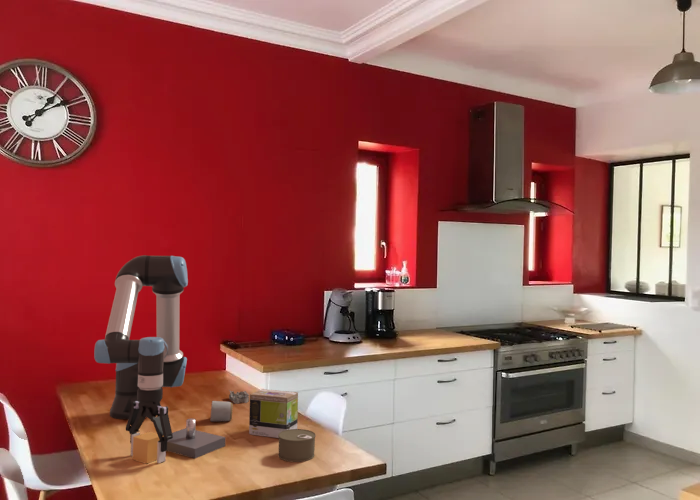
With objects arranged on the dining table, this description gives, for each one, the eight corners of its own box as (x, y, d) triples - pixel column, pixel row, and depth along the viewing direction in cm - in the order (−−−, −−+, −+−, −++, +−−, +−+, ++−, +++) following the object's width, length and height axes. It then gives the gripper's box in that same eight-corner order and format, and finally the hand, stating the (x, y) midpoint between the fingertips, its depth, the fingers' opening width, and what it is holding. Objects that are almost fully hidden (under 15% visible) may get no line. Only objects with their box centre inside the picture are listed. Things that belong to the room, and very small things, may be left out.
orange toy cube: (132, 459, 178) (133, 436, 178) (149, 453, 183) (149, 431, 183) (147, 463, 175) (147, 440, 175) (163, 457, 180) (164, 435, 180)
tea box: (298, 432, 210) (299, 391, 210) (286, 440, 200) (287, 397, 200) (261, 427, 214) (262, 387, 215) (248, 434, 205) (249, 393, 205)
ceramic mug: (232, 423, 218) (232, 402, 219) (210, 424, 216) (210, 403, 217) (231, 416, 229) (232, 396, 229) (210, 416, 227) (211, 397, 227)
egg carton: (228, 398, 256) (228, 389, 256) (244, 397, 259) (245, 388, 259) (232, 404, 246) (233, 395, 246) (250, 403, 249) (250, 393, 249)
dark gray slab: (154, 447, 189) (154, 438, 189) (186, 436, 201) (186, 428, 201) (195, 458, 180) (195, 448, 180) (225, 446, 192) (225, 437, 192)
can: (292, 447, 193) (292, 426, 193) (322, 454, 187) (322, 433, 187) (270, 457, 183) (270, 435, 183) (300, 465, 177) (301, 443, 177)
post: (183, 438, 190) (184, 420, 190) (190, 435, 193) (191, 418, 193) (190, 439, 188) (191, 421, 189) (197, 437, 191) (197, 419, 191)
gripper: (114, 384, 182) (112, 454, 181) (167, 395, 170) (165, 469, 170) (134, 380, 188) (131, 447, 188) (186, 390, 177) (184, 461, 176)
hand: (147, 458), depth 179 cm, fingers open, 11 cm apart
